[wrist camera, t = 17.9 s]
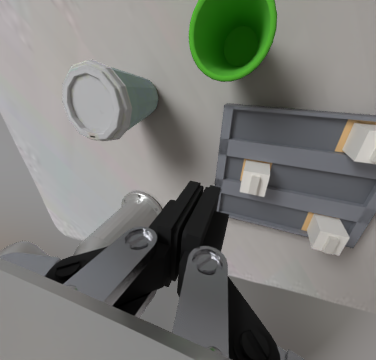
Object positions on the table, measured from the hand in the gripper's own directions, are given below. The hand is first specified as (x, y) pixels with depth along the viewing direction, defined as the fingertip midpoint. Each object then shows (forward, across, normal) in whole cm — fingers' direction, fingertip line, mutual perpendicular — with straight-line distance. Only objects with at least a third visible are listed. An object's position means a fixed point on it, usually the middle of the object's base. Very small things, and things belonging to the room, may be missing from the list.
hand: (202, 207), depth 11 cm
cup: (+27, +2, -11) cm, 29 cm away
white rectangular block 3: (+25, -17, -1) cm, 31 cm away
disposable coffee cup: (+28, +19, -3) cm, 34 cm away
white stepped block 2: (+26, -18, +15) cm, 35 cm away
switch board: (+27, -10, +7) cm, 30 cm away
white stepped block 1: (+26, -4, +8) cm, 27 cm away
